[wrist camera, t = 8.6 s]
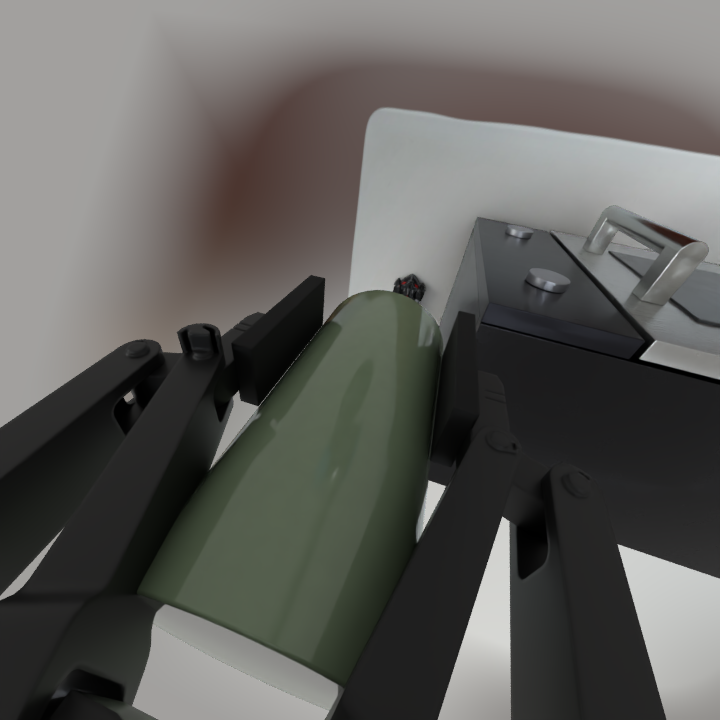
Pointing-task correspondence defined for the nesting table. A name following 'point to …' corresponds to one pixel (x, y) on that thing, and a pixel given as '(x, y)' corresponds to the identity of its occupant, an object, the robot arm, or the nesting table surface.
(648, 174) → the nesting table surface
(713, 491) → the microwave
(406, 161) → the nesting table surface
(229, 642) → the canister
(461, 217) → the nesting table surface
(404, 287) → the toy car
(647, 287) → the microwave door
